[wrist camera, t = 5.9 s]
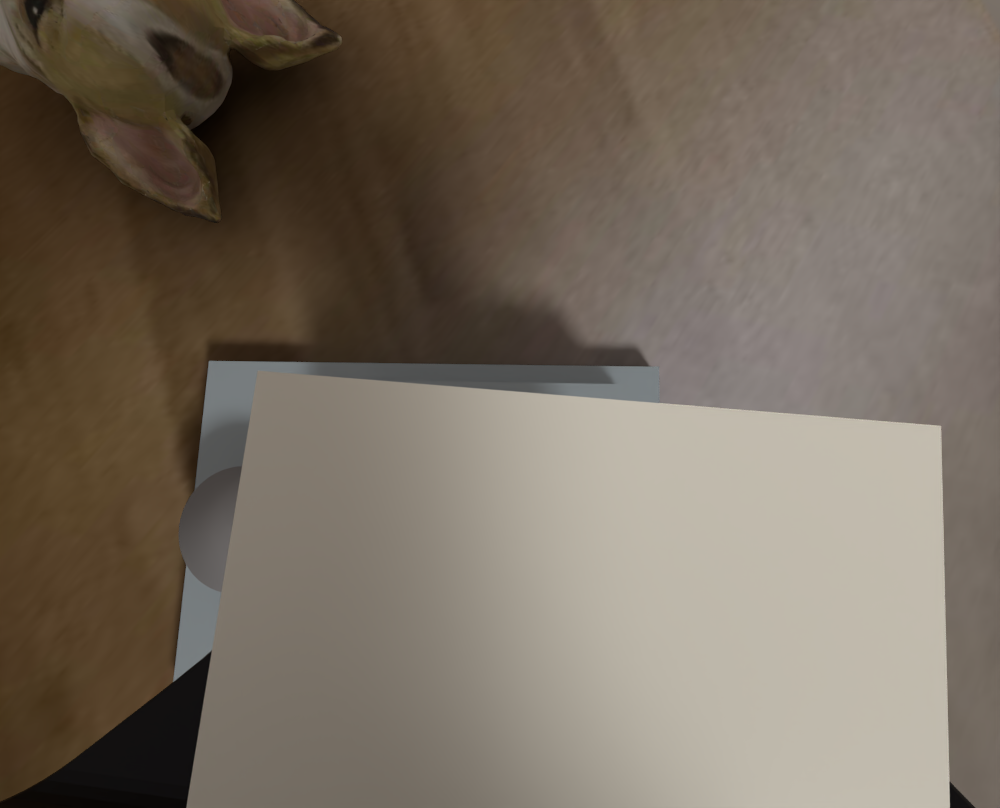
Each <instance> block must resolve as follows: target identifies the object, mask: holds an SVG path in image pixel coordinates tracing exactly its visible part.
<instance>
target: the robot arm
mask: <svg viewBox="0 0 1000 808" xmlns="http://www.w3.org/2000/svg"><path fill="white" fill-rule="evenodd" d="M211 653H212V650H211V651H210V652H209V653H208V654H207V655H206V656H205V657H203V658H202V659H201V660H200V661H199V662H197V663H196V664H195V665H194V666H192V667H191V668H190V669H189V670H187V671H186V672H185V673H184V674H182V675H181V676H180V677H179V678H178V679H176V680H175V681H174V682H173V683H171V684H170V685H169V686H168V687H166V688H165V689H164V690H163V691H161V692H160V693H159V694H157V695H156V696H155V697H154V698H152V699H151V700H150V701H148V702H147V703H146V704H144V705H143V706H142V707H141V708H139V709H138V710H137V711H135V712H134V713H133V714H132V715H130V716H129V717H128V718H126V719H125V720H124V721H123V722H121V723H120V724H119V725H117V726H116V727H115V728H114V729H112V730H111V731H110V732H108V733H107V734H106V735H104V736H103V737H102V738H101V739H99V740H98V741H97V742H95V743H94V744H93V745H92V746H90V747H89V748H88V749H86V750H85V751H84V752H83V753H81V754H80V755H79V756H77V757H76V758H75V759H73V760H72V761H71V762H69V763H68V764H66V765H65V766H64V767H62V768H61V769H59V770H58V771H56V772H55V773H53V774H52V775H50V776H49V777H47V778H45V779H44V780H42V781H40V782H39V783H37V784H35V785H33V786H32V787H30V788H28V789H26V790H24V791H22V792H20V793H18V794H16V795H14V796H12V797H10V798H8V799H6V800H3V801H1V802H0V808H186V806H187V800H188V794H189V788H190V782H191V776H192V769H193V763H194V757H195V751H196V745H197V739H198V733H199V727H200V721H201V714H202V708H203V702H204V696H205V690H206V684H207V678H208V672H209V666H210V659H211ZM949 789H950V808H975V807H974V806H973V805H972V804H971V803H970V802H969V801H968V800H967V799H966V798H965V797H964V796H963V795H962V794H961V793H960V792H959V791H958V790H957V789H956V788H955V787H954V785H953V784H952V783H951V782H950V781H949Z"/></svg>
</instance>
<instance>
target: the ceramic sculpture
mask: <svg viewBox="0 0 1000 808" xmlns="http://www.w3.org/2000/svg"><path fill="white" fill-rule="evenodd" d="M341 44H342V37H341V36H339V35H338V34H337V33H336V32H334V31H332V30H330V29H329V28H327V27H324V26H321V25H320V24H319V23H318V22H317V21H316V20H315V19H314V18H313V17H312V16H310V15H309V14H308V13H307V12H306V11H305V10H304V9H303V8H302V7H301V6H300V5H299V4H298V3H296V2H295V1H294V0H0V65H2V66H4V67H6V68H8V69H10V70H12V71H15V72H18V73H21V74H25V75H30V76H32V77H35V78H37V79H38V80H40V81H42V82H43V83H44V84H46V85H47V86H48V87H50V88H51V89H52V90H54V91H55V92H57V93H59V94H62V95H64V96H65V97H66V98H67V100H68V101H69V102H70V103H71V104H72V106H73V108H74V110H75V111H76V113H77V117H78V123H79V127H80V133H81V135H82V137H83V139H84V141H85V143H86V145H87V147H88V149H89V151H90V153H91V155H92V156H93V157H94V158H96V159H97V160H98V161H100V162H101V163H103V164H104V165H105V166H106V167H107V168H109V169H110V170H111V171H112V172H113V173H114V175H115V176H116V177H117V178H118V179H119V181H120V182H121V183H122V184H124V185H126V186H128V187H130V188H132V189H133V190H135V191H137V192H139V193H141V194H143V195H144V196H146V197H148V198H150V199H152V200H154V201H156V202H159V203H161V204H163V205H165V206H166V207H168V208H170V209H172V210H175V211H178V212H180V213H182V214H184V215H187V216H194V217H198V218H202V219H205V220H208V221H211V222H214V223H218V222H220V221H221V219H222V214H221V208H220V203H219V196H218V182H217V173H216V164H215V159H214V157H213V155H212V153H211V151H210V149H209V148H208V147H207V146H206V145H205V144H204V143H203V142H202V141H201V140H200V139H199V138H197V137H196V136H195V135H194V134H193V133H192V132H191V129H193V128H195V127H197V126H199V125H200V124H201V123H202V122H204V121H205V120H206V119H207V118H209V117H210V116H211V115H212V114H214V113H215V111H216V110H217V109H218V108H219V107H220V105H221V104H222V103H223V101H224V99H225V97H226V95H227V92H228V90H229V88H230V85H231V83H232V64H231V60H230V56H229V52H230V49H232V48H233V49H235V50H236V51H238V52H239V53H240V54H242V55H243V56H244V57H245V58H246V59H248V60H249V61H250V62H252V63H253V64H255V65H256V66H258V67H261V68H263V69H265V70H282V69H285V68H288V67H292V66H295V65H298V64H302V63H305V62H308V61H310V60H312V59H314V58H316V57H318V56H321V55H324V54H326V53H329V52H332V51H334V50H337V49H338V48H339V47H340V45H341Z"/></svg>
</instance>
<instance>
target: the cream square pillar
mask: <svg viewBox="0 0 1000 808" xmlns="http://www.w3.org/2000/svg"><path fill="white" fill-rule="evenodd" d="M186 808H950V789H949V746H948V704H947V662H946V620H945V577H944V535H943V493H942V450H941V426H935V425H923V424H911V423H898V422H886V421H874V420H861V419H849V418H837V417H824V416H812V415H799V414H787V413H775V412H762V411H750V410H738V409H725V408H713V407H701V406H688V405H676V404H664V403H651V402H639V401H626V400H614V399H602V398H589V397H577V396H565V395H552V394H540V393H528V392H515V391H503V390H490V389H478V388H466V387H453V386H441V385H429V384H416V383H404V382H392V381H379V380H367V379H354V378H342V377H330V376H317V375H305V374H293V373H280V372H268V371H258V372H257V378H256V384H255V391H254V397H253V403H252V409H251V415H250V421H249V427H248V433H247V439H246V446H245V452H244V458H243V464H242V470H241V476H240V482H239V488H238V494H237V501H236V507H235V513H234V519H233V525H232V531H231V537H230V543H229V549H228V556H227V562H226V568H225V574H224V580H223V586H222V592H221V598H220V604H219V611H218V617H217V623H216V629H215V635H214V641H213V647H212V653H211V659H210V666H209V672H208V678H207V684H206V690H205V696H204V702H203V708H202V714H201V721H200V727H199V733H198V739H197V745H196V751H195V757H194V763H193V769H192V776H191V782H190V788H189V794H188V800H187V806H186Z"/></svg>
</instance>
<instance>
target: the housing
mask: <svg viewBox="0 0 1000 808" xmlns="http://www.w3.org/2000/svg"><path fill="white" fill-rule="evenodd" d="M258 371H268V372H280V373H293V374H305V375H317V376H330V377H342V378H354V379H367V380H379V381H392V382H404V383H416V384H429V385H441V386H453V387H466V388H478V389H490V390H503V391H515V392H528V393H540V394H552V395H565V396H577V397H589V398H602V399H614V400H626V401H639V402H651V403H659V367H640V366H563V365H485V364H408V363H331V362H254V361H209V365H208V374H207V383H206V392H205V401H204V410H203V419H202V428H201V437H200V446H199V455H198V464H197V473H196V482H195V491H194V492H193V493H192V495H191V496H190V498H189V499H188V501H187V503H186V505H185V507H184V510H183V512H182V516H181V519H180V525H179V544H180V549H181V553H182V556H183V559H184V561H185V563H186V572H185V581H184V590H183V599H182V608H181V617H180V626H179V635H178V644H177V653H176V662H175V671H174V680H173V682H174V681H175V680H176V679H178V678H179V677H180V676H181V675H182V674H184V673H185V672H186V671H187V670H189V669H190V668H191V667H192V666H194V665H195V664H196V663H197V662H199V661H200V660H201V659H202V658H203V657H205V656H206V655H207V654H208V653H209V652H210V651H211V650H212V647H213V641H214V635H215V629H216V623H217V617H218V611H219V604H220V598H221V592H222V586H223V580H224V574H225V568H226V562H227V556H228V549H229V543H230V537H231V531H232V525H233V519H234V513H235V507H236V501H237V494H238V488H239V482H240V476H241V470H242V464H243V458H244V452H245V446H246V439H247V433H248V427H249V421H250V415H251V409H252V403H253V397H254V391H255V384H256V378H257V372H258Z"/></svg>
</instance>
